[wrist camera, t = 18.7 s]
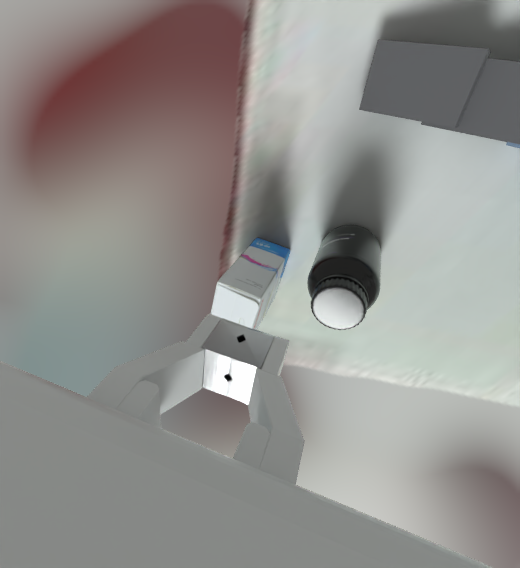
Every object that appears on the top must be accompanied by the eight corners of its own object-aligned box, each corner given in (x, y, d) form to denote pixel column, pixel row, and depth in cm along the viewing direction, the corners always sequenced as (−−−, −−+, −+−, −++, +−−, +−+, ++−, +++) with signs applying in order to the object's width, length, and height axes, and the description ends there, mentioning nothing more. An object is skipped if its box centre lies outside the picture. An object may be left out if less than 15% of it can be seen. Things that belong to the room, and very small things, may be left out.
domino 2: (450, 56, 26) (568, 70, 23) (424, 123, 28) (526, 144, 25) (448, 53, 24) (573, 67, 21) (420, 124, 27) (527, 145, 24)
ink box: (254, 234, 40) (215, 280, 30) (291, 248, 39) (263, 300, 29) (241, 287, 44) (203, 341, 35) (273, 300, 44) (244, 359, 34)
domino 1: (385, 43, 27) (490, 52, 23) (366, 109, 29) (457, 127, 26) (378, 39, 25) (488, 48, 22) (359, 109, 28) (454, 127, 24)
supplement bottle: (340, 211, 35) (325, 258, 25) (393, 242, 35) (399, 301, 25) (309, 258, 39) (286, 314, 29) (357, 286, 39) (350, 351, 29)
